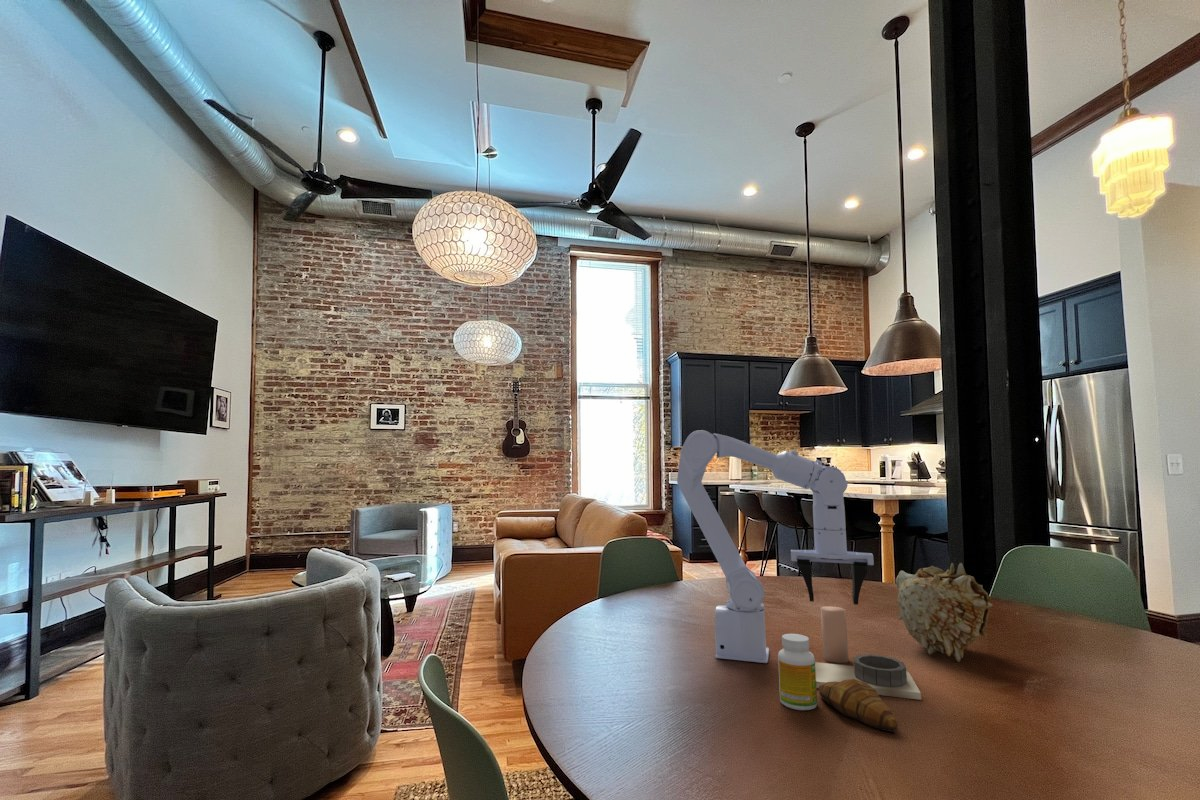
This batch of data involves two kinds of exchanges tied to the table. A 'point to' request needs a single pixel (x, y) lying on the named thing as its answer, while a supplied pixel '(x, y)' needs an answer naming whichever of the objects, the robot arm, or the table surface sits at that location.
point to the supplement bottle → (797, 673)
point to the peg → (834, 634)
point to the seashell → (943, 608)
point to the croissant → (858, 703)
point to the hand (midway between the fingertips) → (833, 601)
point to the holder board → (849, 674)
